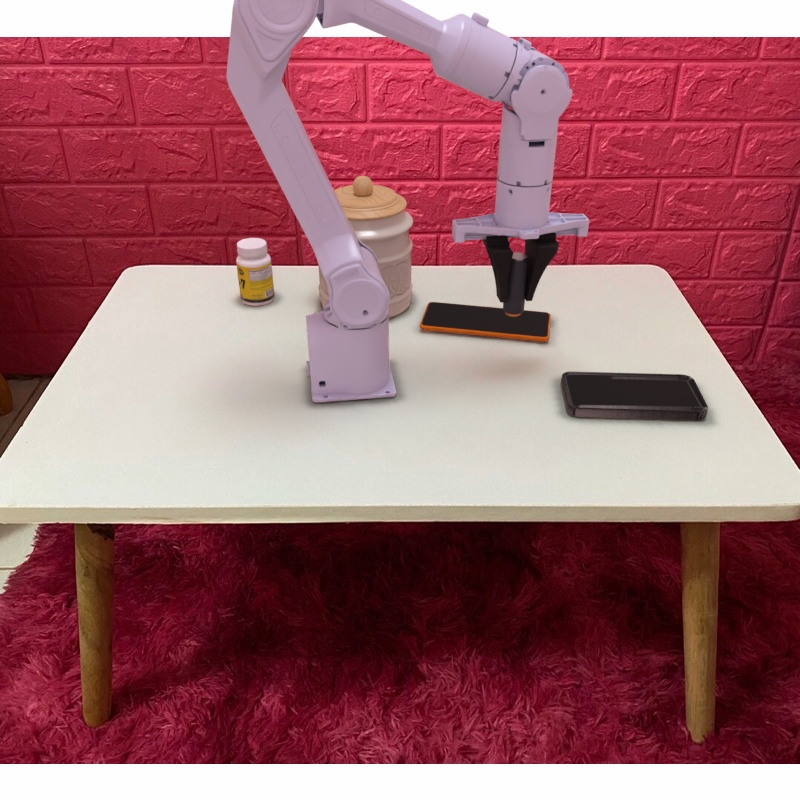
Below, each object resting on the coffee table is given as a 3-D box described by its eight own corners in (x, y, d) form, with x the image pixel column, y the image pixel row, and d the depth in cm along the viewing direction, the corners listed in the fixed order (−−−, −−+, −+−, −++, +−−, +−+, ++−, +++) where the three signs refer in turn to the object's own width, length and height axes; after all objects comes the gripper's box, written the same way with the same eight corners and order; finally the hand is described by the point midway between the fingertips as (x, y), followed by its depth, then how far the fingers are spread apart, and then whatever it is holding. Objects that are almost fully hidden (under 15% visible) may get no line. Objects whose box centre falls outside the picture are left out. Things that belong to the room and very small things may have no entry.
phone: (710, 412, 82) (569, 408, 83) (708, 421, 83) (568, 416, 84) (691, 374, 89) (560, 370, 90) (689, 382, 90) (559, 378, 90)
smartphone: (548, 343, 97) (549, 337, 97) (418, 331, 100) (418, 325, 100) (550, 316, 104) (551, 310, 103) (428, 305, 106) (428, 300, 106)
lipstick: (505, 318, 87) (510, 260, 83) (500, 309, 89) (504, 252, 85) (526, 317, 87) (531, 259, 84) (520, 307, 89) (525, 251, 86)
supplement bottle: (238, 294, 110) (231, 238, 105) (271, 290, 111) (266, 234, 106) (243, 308, 106) (236, 251, 101) (277, 304, 107) (272, 247, 103)
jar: (312, 288, 112) (303, 165, 102) (398, 278, 114) (398, 158, 105) (329, 328, 101) (321, 196, 91) (424, 316, 104) (426, 187, 94)
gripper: (463, 193, 76) (457, 317, 83) (605, 187, 77) (587, 310, 85) (450, 172, 82) (446, 289, 89) (582, 167, 83) (567, 283, 91)
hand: (514, 298), depth 87 cm, fingers closed on lipstick, 2 cm apart
